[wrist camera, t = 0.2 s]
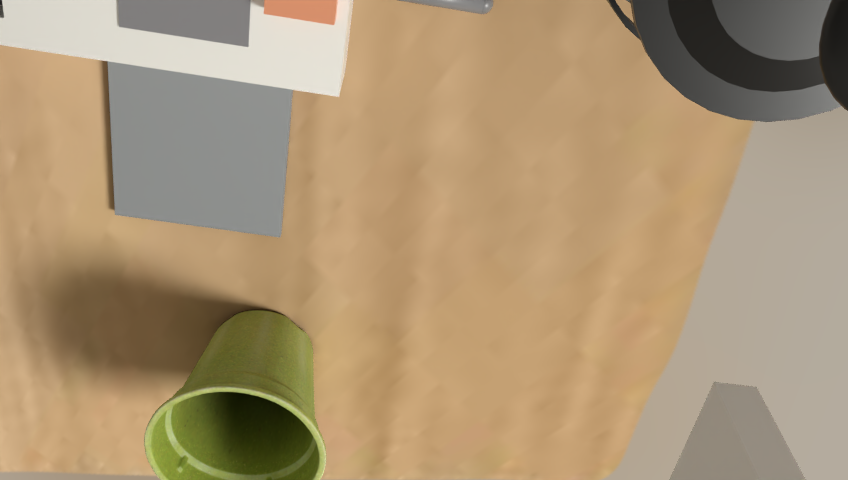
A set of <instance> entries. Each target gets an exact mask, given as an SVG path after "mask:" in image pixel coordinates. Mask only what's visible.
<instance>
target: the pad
mask: <svg viewBox="0 0 848 480" xmlns="http://www.w3.org/2000/svg"><path fill="white" fill-rule="evenodd" d="M108 81H109V102H110V122H111V143H112V163H113V184H114V204H115V215H120V216H128V217H135V218H142V219H150V220H157V221H164V222H171V223H179V224H186V225H193V226H201V227H208V228H215V229H222V230H230V231H237V232H244V233H252V234H259V235H266V236H274V237H280V236H281V231H282V219H283V206H284V194H285V181H286V169H287V157H288V144H289V132H290V119H291V107H292V94H293V90H291V89H285V88H278V87H272V86H265V85H259V84H252V83H246V82H239V81H233V80H226V79H220V78H213V77H207V76H200V75H194V74H187V73H181V72H174V71H168V70H161V69H155V68H148V67H142V66H135V65H128V64H122V63H115V62H109V61H108Z"/></svg>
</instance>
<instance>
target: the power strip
mask: <svg viewBox="0 0 848 480" xmlns="http://www.w3.org/2000/svg"><path fill="white" fill-rule="evenodd" d="M399 1H405V2H411V3H417V4H423V5H429V6H436V7H442V8H448V9H454V10H460V11H466V12H472V13H478V14H485V13H488V12H489V11H490V10H491V9H492V6H493V0H399ZM352 9H353V0H0V45H5V46H11V47H18V48H24V49H31V50H37V51H44V52H50V53H57V54H63V55H70V56H76V57H83V58H89V59H96V60H102V61H109V62H115V63H122V64H128V65H135V66H142V67H148V68H155V69H161V70H168V71H174V72H181V73H187V74H194V75H200V76H207V77H213V78H220V79H226V80H233V81H239V82H246V83H252V84H259V85H265V86H272V87H278V88H285V89H291V90H298V91H305V92H311V93H318V94H324V95H331V96H337V97H339V94H340V90H341V86H342V82H343V78H344V74H345V69H346V61H347V52H348V43H349V35H350V26H351V17H352Z"/></svg>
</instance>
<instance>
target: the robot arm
mask: <svg viewBox="0 0 848 480" xmlns="http://www.w3.org/2000/svg"><path fill="white" fill-rule="evenodd" d="M670 480H806V479H805V477H804V476H803V474H802V472H801V470H800V468H799V466H798V464H797V462H796V461H795V459H794V457H793V455H792V453H791V451H790V449H789V447H788V445H787V444H786V442H785V440H784V438H783V436H782V434H781V432H780V430H779V429H778V427H777V425H776V423H775V421H774V419H773V417H772V415H771V413H770V412H769V410H768V408H767V406H766V404H765V402H764V400H763V398H762V396H761V395H760V393H759V391H758V389H757V387H753V386H744V385H736V384H728V383H719V382H714V383H713V385H712V388H711V390H710V392H709V394H708V397H707V398H706V401H705V403H704V405H703V407H702V409H701V412H700V414H699V416H698V418H697V421H696V423H695V425H694V427H693V429H692V431H691V434H690V436H689V438H688V440H687V442H686V444H685V447H684V449H683V451H682V453H681V456H680V458H679V460H678V462H677V464H676V466H675V469H674V471H673V473H672V475H671V477H670Z"/></svg>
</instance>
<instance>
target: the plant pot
mask: <svg viewBox="0 0 848 480" xmlns="http://www.w3.org/2000/svg"><path fill="white" fill-rule="evenodd" d="M144 446H145V452H146V456H147V459H148V462H149V463H150V465H151V467H152V469H153V471H154V472H155V474H156V475H157V476H158V477H159V479H160V480H320V479H321V477H322V475H323V472H324V469H325V464H326V448H325V444H324V440H323V438H322V435H321V433H320V431H319V429H318V425H317V422H316V419H315V412H314V386H313V348H312V344H311V341H310V339H309V337H308V335H307V334H306V332H304V331H302V330H301V329H300V328H298V327H297V326H296V325H295V324H294V323H293V322H292V321H291V320H290V319H289V318H287V317H286V316H283V315H281V314H278V313H274V312H270V311H262V310H254V311H245V312H242V313H238V314H236V315H234V316H233V317H232V318H230V319H229V320H227V321H226V322H225V323H223V324H222V325H221V326H220V327H219V328H218V329H217V331H216V332H215V334H214V336H213V337H212V339H211V341H210V342H209V344H208V346H207V347H206V349H205V351H204V353H203V354H202V356H201V357H200V359H199V361H198V362H197V364H196V366H195V368H194V369H193V371H192V373H191V374H190V376H189V378H188V379H187V381H186V383H185V384H184V386H183V387H182V388H181V389H180V390H179V391H177V393H176V394H175V395H174V396H173V397H172V398H170V399H169V400H167V401H166V402H165V403H164V404H162V405H161V406H160V407H159V408H158V409H157V410H156V412H155V413H154V414H153V416H152V418H151V419H150V421H149V423H148V426H147V428H146V432H145V437H144Z"/></svg>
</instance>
